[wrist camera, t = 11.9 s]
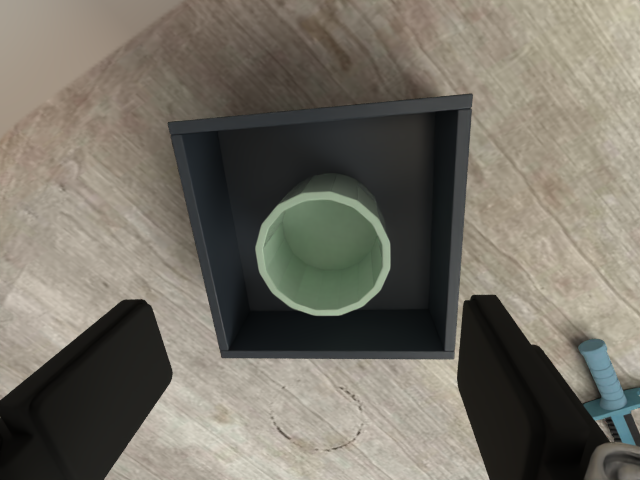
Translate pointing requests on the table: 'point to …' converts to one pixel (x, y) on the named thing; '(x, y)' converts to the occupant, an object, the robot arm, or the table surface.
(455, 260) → the dish tub
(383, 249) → the green tumbler
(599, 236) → the table surface
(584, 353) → the knife
